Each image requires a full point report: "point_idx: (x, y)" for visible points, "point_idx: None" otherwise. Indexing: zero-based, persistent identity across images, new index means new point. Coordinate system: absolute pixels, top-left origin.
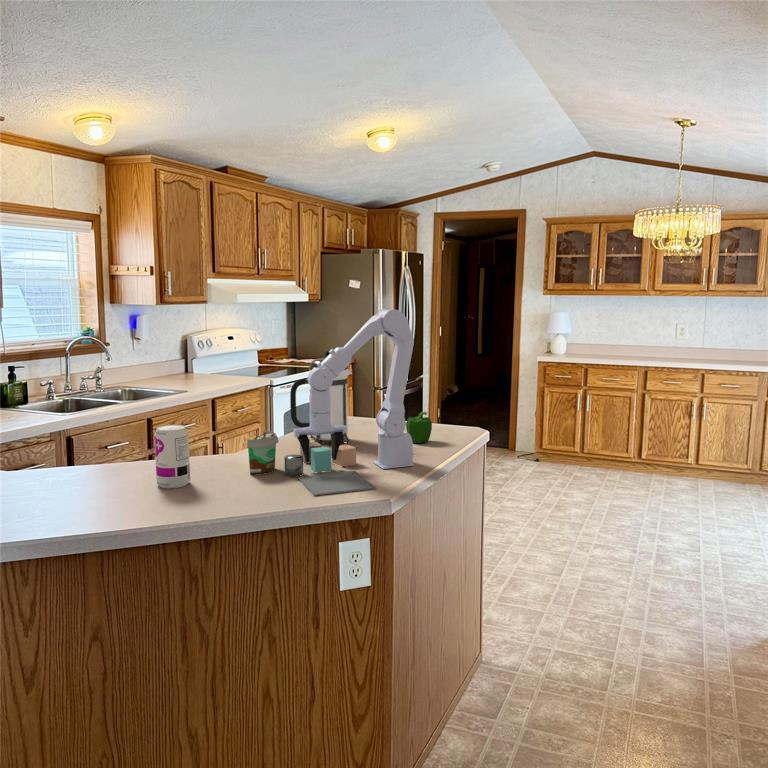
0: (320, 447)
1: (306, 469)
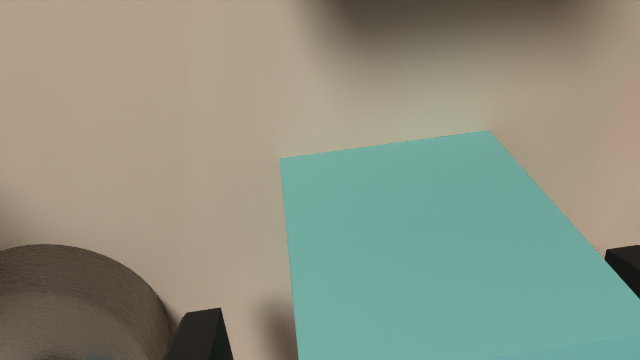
0: (527, 357)
1: (216, 161)
